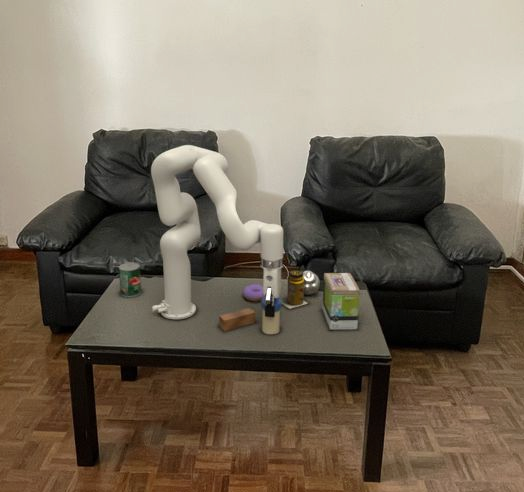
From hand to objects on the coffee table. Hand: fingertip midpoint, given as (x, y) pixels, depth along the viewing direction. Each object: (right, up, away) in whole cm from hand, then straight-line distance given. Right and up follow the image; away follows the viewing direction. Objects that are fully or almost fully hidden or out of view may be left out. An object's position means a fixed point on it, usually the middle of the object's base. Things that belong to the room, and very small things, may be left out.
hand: (271, 311), depth 185 cm
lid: (0, +3, -1) cm, 3 cm away
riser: (-12, -6, +5) cm, 14 cm away
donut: (-6, -1, +26) cm, 26 cm away
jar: (0, -7, +2) cm, 7 cm away
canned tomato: (-54, 0, +29) cm, 62 cm away
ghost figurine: (+15, -1, +29) cm, 32 cm away
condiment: (+8, -2, +22) cm, 23 cm away
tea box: (+24, -5, +9) cm, 26 cm away
